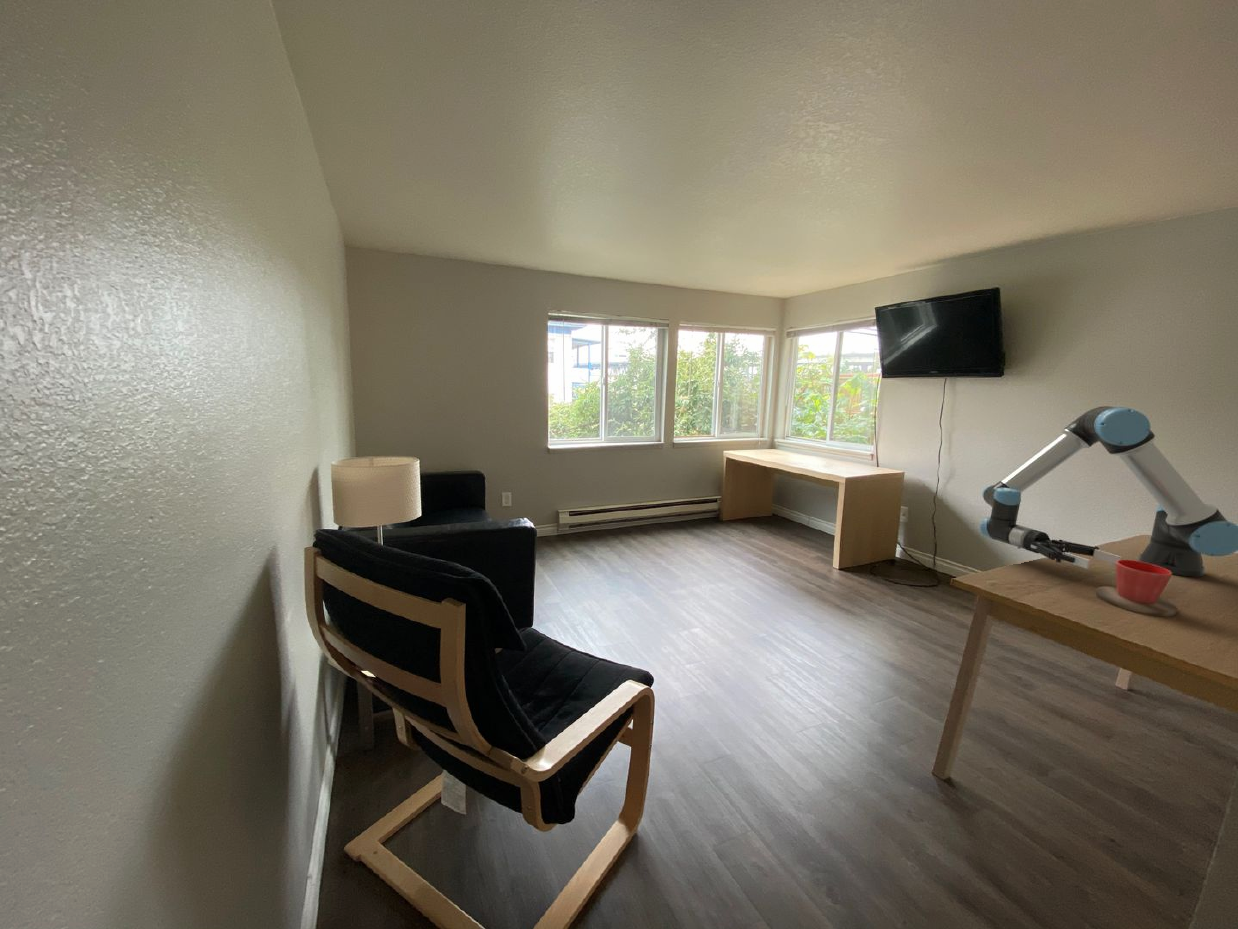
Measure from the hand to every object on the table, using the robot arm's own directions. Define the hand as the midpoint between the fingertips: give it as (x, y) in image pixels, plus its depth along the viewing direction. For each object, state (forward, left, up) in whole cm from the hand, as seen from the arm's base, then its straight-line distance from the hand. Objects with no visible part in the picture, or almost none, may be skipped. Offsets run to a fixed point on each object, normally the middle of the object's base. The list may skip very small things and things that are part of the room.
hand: (1104, 562), depth 145 cm
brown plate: (-3, +8, -9) cm, 12 cm away
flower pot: (-4, +8, -8) cm, 11 cm away
